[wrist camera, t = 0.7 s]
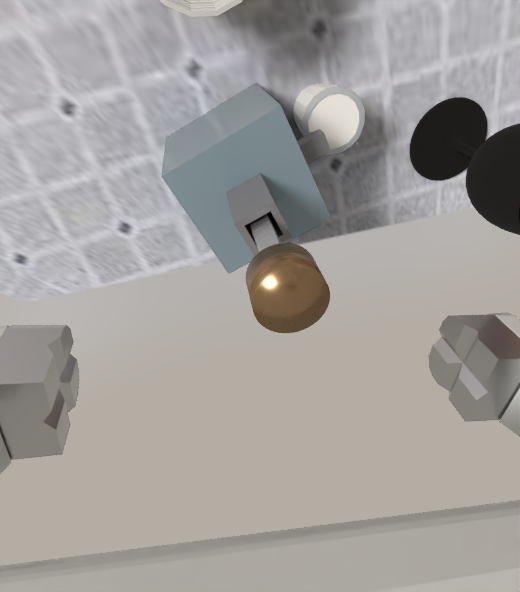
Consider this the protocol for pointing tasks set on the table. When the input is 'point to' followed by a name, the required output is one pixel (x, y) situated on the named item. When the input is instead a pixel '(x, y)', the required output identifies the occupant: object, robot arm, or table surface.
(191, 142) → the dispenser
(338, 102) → the shot glass
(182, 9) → the plastic cup
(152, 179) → the table surface
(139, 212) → the table surface
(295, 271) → the pump plunger
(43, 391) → the robot arm
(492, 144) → the wine glass
